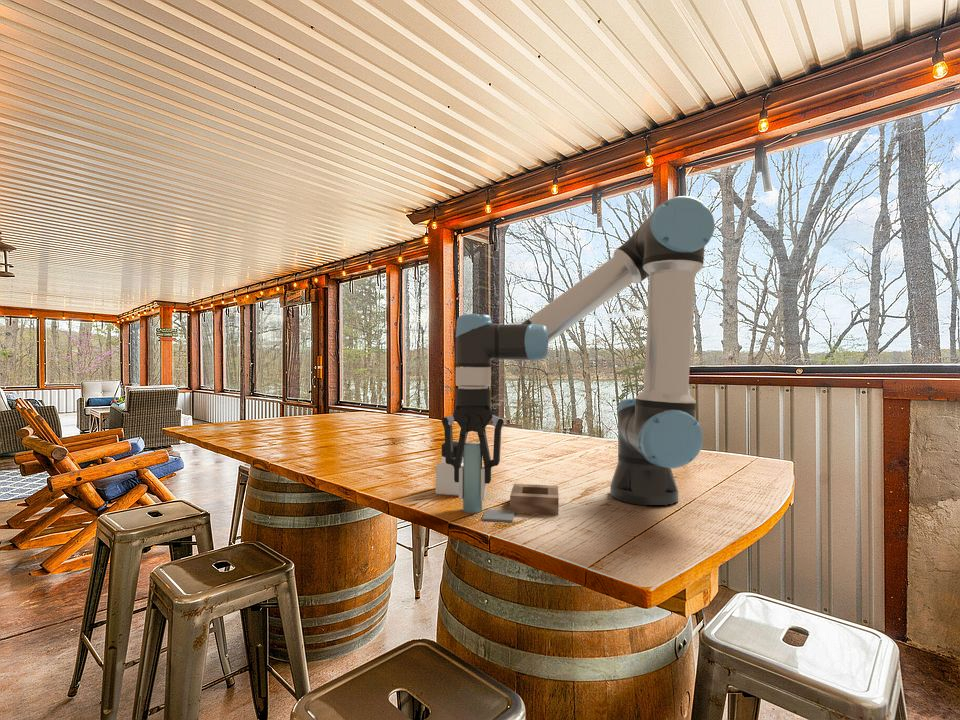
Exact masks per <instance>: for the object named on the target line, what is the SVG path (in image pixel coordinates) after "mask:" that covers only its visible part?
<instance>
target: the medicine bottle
mask: <svg viewBox="0 0 960 720" xmlns="http://www.w3.org/2000/svg"><path fill="white" fill-rule="evenodd" d="M458 442H459V440H458V441H457V440H455V441H454V440H453V458H455V456H456V451H457V446H458ZM461 465H462V466H463V458H462V464H461ZM435 495H444V496H445V495H446V496H458V497H459V482H455V481H454V466H453V465H450V464H447V463H446V461H445V442H444V443H442V444H441V461H439V462H438V463H436V465H435Z"/></svg>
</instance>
